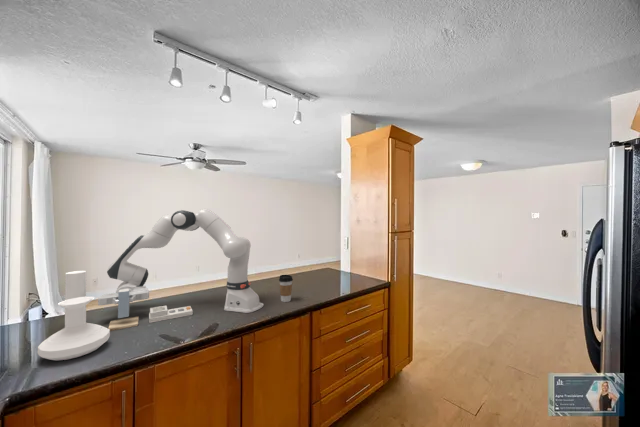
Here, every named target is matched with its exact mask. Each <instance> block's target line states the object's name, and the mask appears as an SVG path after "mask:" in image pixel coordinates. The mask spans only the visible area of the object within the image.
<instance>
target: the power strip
mask: <svg viewBox="0 0 640 427" xmlns="http://www.w3.org/2000/svg"><path fill="white" fill-rule="evenodd" d="M193 310H194V309H193V308H192V307H191V305H187V306H182V307H176V308H171V309H168V306H167V305H163V306H162V305H161V306H154V307H150V308H149V313H148V322H149V323H150V324H151V323H155V322H161V321H166V320H167V321H168V320H172V319H177V318H178V319H179V318H184V317H189V316H193V315H194V314H193V313H194V311H193Z"/></svg>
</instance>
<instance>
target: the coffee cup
mask: <svg viewBox="0 0 640 427" xmlns="http://www.w3.org/2000/svg"><path fill="white" fill-rule="evenodd" d="M293 280H294V279H293V276H292V275H290V274H281V275H279V279H278V281H279V293H280V301H281V302H282V303H288V302H291V299H292V290H293Z"/></svg>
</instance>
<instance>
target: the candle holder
mask: <svg viewBox="0 0 640 427" xmlns="http://www.w3.org/2000/svg"><path fill="white" fill-rule="evenodd" d="M93 300H95V296H86V297H78V298H72V299H68V300H65V299H64V300H62V301H60V302H58V303H57V305H58V306H60V307H63V308H64V309H65V308H67V318H66V327H65V326H64V327H63V328H62V329H60V330H58V331H57V332H55V333H53V334H52V335H50V336H48V337H47V338H46V339H45V340H43V341H42V342H41V343H40V344H39V345H38V346H37V355H38V356H39V357H40V358H43V359H46V360H51V361H57V362H58V361H63V360H64V361H66V360H71V359H75V358H79V357H82V356H84V355H88V354H90V353H92V352H94V351H96V350H98V349H99V348H100V347H101V346H102V345H104V343H106V342H107V341H109V339H110V336H111V331H110V329H108V328H107V327H106V326H103V325H101V324H95V323H92V322H91V323H90V322H87V305H88V304H90V303H91V302H92V301H93Z"/></svg>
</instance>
